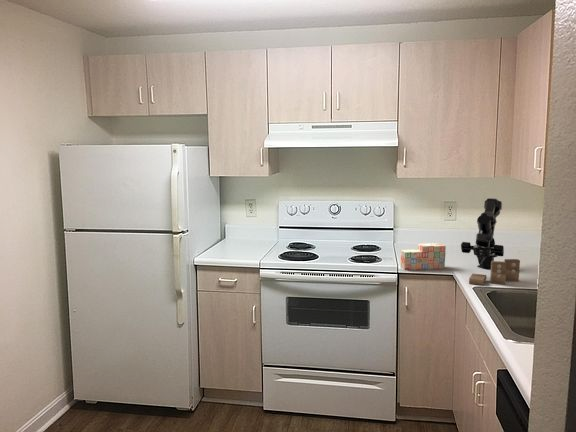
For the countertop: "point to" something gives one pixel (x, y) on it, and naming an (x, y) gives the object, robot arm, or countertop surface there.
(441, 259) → the stack of blocks
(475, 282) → the wooden block
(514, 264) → the tile two
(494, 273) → the light brown wooden block
